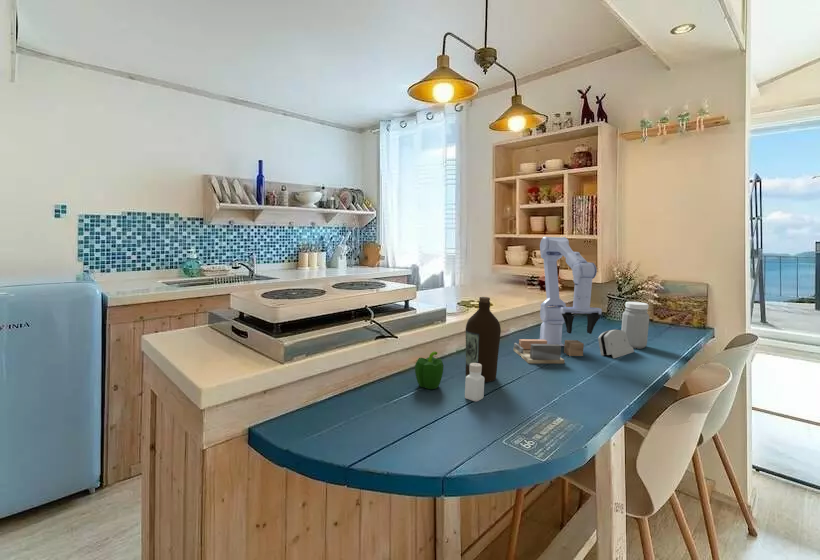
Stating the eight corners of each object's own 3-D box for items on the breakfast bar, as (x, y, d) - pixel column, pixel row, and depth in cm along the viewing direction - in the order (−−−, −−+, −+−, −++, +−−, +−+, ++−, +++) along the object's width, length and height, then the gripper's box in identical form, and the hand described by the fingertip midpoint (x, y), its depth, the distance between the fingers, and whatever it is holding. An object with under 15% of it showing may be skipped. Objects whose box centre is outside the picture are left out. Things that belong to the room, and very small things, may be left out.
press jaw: (518, 347, 161) (519, 339, 161) (544, 347, 162) (544, 339, 161) (520, 349, 158) (521, 340, 158) (546, 349, 159) (547, 341, 159)
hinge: (613, 358, 156) (606, 331, 157) (601, 359, 159) (595, 333, 161) (634, 351, 166) (627, 326, 168) (622, 352, 170) (616, 328, 171)
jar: (622, 341, 182) (625, 300, 180) (647, 345, 176) (652, 303, 174) (617, 346, 174) (621, 303, 172) (644, 350, 168) (649, 306, 166)
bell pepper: (422, 393, 116) (423, 358, 115) (410, 383, 124) (411, 350, 123) (448, 389, 120) (450, 355, 118) (435, 380, 127) (437, 347, 126)
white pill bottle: (476, 402, 111) (478, 367, 110) (463, 398, 113) (465, 364, 112) (484, 398, 114) (486, 364, 113) (471, 394, 116) (473, 361, 115)
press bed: (513, 350, 162) (514, 334, 162) (546, 350, 164) (547, 334, 163) (528, 363, 147) (529, 345, 146) (564, 363, 148) (565, 346, 147)
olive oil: (485, 370, 138) (489, 294, 135) (505, 380, 128) (509, 299, 126) (457, 373, 134) (460, 295, 131) (475, 385, 124) (479, 301, 121)
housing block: (563, 352, 162) (564, 340, 161) (576, 352, 162) (577, 340, 161) (569, 356, 157) (570, 343, 156) (582, 356, 157) (583, 343, 156)
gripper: (567, 297, 147) (564, 335, 149) (607, 298, 148) (604, 336, 150) (559, 294, 154) (556, 330, 156) (597, 295, 155) (594, 331, 157)
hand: (579, 333), depth 153 cm, fingers open, 7 cm apart
